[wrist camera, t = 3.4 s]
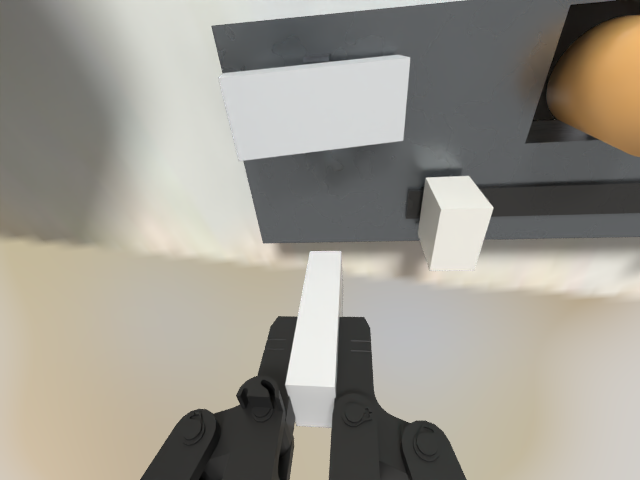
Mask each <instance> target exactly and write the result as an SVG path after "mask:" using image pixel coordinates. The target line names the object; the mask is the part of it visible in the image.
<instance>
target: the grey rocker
mask: <svg viewBox="0 0 640 480" xmlns="http://www.w3.org/2000/svg"><path fill="white" fill-rule="evenodd" d="M409 68H410V57H406V56H402V55H390V56H381V57H372V58H362V59H353V60H343V61H334V62H324V63H315V64H305V65H296V66H287V67H277V68H268V69H258V70H249V71H239V72H230V73H223V74H222V75H221V76H220V77H219V78H218V79H219V83H220V87H221V91H222V95H223V99H224V103H225V107H226V111H227V115H228V119H229V123H230V127H231V131H232V135H233V140H234V144H235V148H236V152H237V156H238V160H239V161H244V160H252V159H260V158H268V157H276V156H285V155H293V154H301V153H309V152H317V151H325V150H333V149H341V148H349V147H357V146H365V145H373V144H381V143H389V142H397V141H403V138H404V126H405V114H406V103H407V91H408V79H409Z"/></svg>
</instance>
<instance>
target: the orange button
mask: <svg viewBox="0 0 640 480" xmlns="http://www.w3.org/2000/svg"><path fill="white" fill-rule="evenodd" d="M547 104H548V107H549V110H550V111H551V113H552V114H553V116H554V117H555V118H557V119H558V120H559V121H561V122H563V123H565V124H568V125H570V126H572V127H574V128H576V129H578V130H580V131H582V132H584V133H586V134H588V135H590V136H592V137H595V138H597V139H599V140H601V141H603V142H605V143H607V144H609V145H611V146H613V147H615V148H617V149H619V150H622V151H624V152H626V153H628V154H630V155H633V156H637V157H640V15H626V16H619V17H615V18H612V19H609V20H607V21H604V22H602V23H600V24H598V25H596V26H594V27H593V28H591V29H590V30H588V31H587V32H585V33H584V34H583V35H581V36H580V37H579V38H578V39H577V40H576V41H574V42H573V43H572V44H571V45H570V47H569V48H568V49H567V50H566V51H565V52H564V54H563V55H562V56H561V57H560V59H559V61H558V62H557V64H556V65H555V67H554V69H553V71H552V73H551V76H550V79H549V82H548V86H547Z"/></svg>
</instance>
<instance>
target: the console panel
mask: <svg viewBox="0 0 640 480" xmlns="http://www.w3.org/2000/svg"><path fill="white" fill-rule="evenodd" d="M604 1H614V0H466V1H456V2H446V3H436V4H426V5H416V6H406V7H396V8H386V9H376V10H365V11H355V12H345V13H335V14H325V15H315V16H305V17H295V18H285V19H275V20H265V21H255V22H245V23H235V24H225V25H215V26H211V27H212V31H213V35H214V39H215V43H216V47H217V52H218V56H219V60H220V64H221V68H222V73H230V72H239V71H249V70H258V69H268V68H277V67H287V66H296V65H305V64H315V63H324V62H334V61H343V60H353V59H362V58H372V57H381V56H390V55H402V56H406V57H410V68H409V79H408V91H407V103H406V114H405V126H404V138H403V141H397V142H389V143H381V144H373V145H365V146H357V147H349V148H341V149H333V150H325V151H317V152H309V153H301V154H293V155H285V156H276V157H268V158H260V159H252V160H244V165H245V169H246V173H247V177H248V182H249V186H250V190H251V194H252V198H253V203H254V207H255V211H256V215H257V219H258V224H259V228H260V232H261V236H262V240H263V243H307V242H365V241H420V239H419V236H418V229H419V221H420V214H421V207H422V200H423V193H424V186H425V179H426V178H427V177H453V176H469V177H470V178H471V179H472V180H473V182H474V183H475V184H476V186H477V187H478V188H479V189H480V191H481V192H482V193H483V195H484V196H485V197H486V199H487V200H488V201H489V202H490V204H491V205H492V206H493V211H492V215H491V218H490V221H489V224H488V228H487V231H486V234H485V238H484V239H539V238H597V237H640V157H637V156H633V155H630V154H628V153H626V152H624V151H622V150H619V149H617V148H615V147H613V146H611V145H609V144H607V143H605V142H603V141H601V140H599V139H597V138H595V137H592V136H590V135H588V134H586V133H584V132H582V131H580V130H578V129H576V128H574V127H572V126H570V125H568V124H565V123H563V122H561V121H559V120H544V121H532V120H533V117H534V114H535V111H536V108H537V105H538V102H539V99H540V96H541V93H542V90H543V87H544V84H545V81H546V78H547V75H548V72H549V69H550V66H551V63H552V59H553V56H554V53H555V50H556V47H557V44H558V41H559V38H560V35H561V32H562V29H563V26H564V23H565V20H566V17H567V14H568V11H569V8H570V5H572V4H583V3H593V2H604Z"/></svg>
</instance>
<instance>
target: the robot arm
mask: <svg viewBox="0 0 640 480" xmlns="http://www.w3.org/2000/svg"><path fill="white" fill-rule="evenodd" d="M342 309H343V278H342V256H341V251H310V254H309V259H308V265H307V270H306V276H305V281H304V286H303V292H302V297H301V303H300V308H299V313H298V317H281V316H278V318H277V319H276V320H275V322H274V323H273V324H272V325H271V327H270V331H269V335H268V340H267V343H266V346H265V350H264V353H263V357H262V361H261V365H260V368H259V372H258V376H256V377H253V378H251V379H249V380H247V381H246V382H245V383H244V384H243V385H242V386H241V387H240V389H239V391H238V393H237V395H236V396H237V398H238V401H239V403H240V405H238V406H236V407H234V408H231V409H228V410H225V411H221V412H218V413H215V414H213V413H211V412H210V411H208V410H206V409H197V410H194V411H191V412H190V413H188V414H187V415H185V416H184V417H183V418H182V419H181V420H180V421H179V422H178V423H177V425H176V426H175V427H174V429H173V430H172V432H171V434H170V435H169V437H168V438H167V440H166V441H165V443H164V444H163V446H162V447H161V449H160V450H159V452H158V453H157V455H156V456H155V458H154V459H153V461H152V463H151V464H150V465H149V467H148V469H147V470H146V472H145V473H144V475H143V476H142V478H141V479H140V480H289V479H290V472H291V465H292V457H293V450H294V437H293V430H294V423H296V426H309V427H326V428H332V432H331V450H330V470H329V480H466V478H465V475H464V473H463V471H462V469H461V466H460V464H459V462H458V460H457V458H456V455H455V453H454V451H453V449H452V446H451V444H450V442H449V440H448V439H447V437H446V435H445V434H444V432H443V431H442V430H441V429H439V428H438V427H437V426H436V425H435V424H432V423H429V422H427V421H415V422H412V423H408V422H406V421H403V420H401V419H399V418H396V417H394V416H392V415H390V414H388V413H387V412H386V411H384V409H382V408H381V406H380V405H379V404H378V402H377V400H376V397H375V394H374V386H373V370H372V353H371V336H370V327H369V325H368V323H367V321H366V320H365V318H364V317H342Z"/></svg>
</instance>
